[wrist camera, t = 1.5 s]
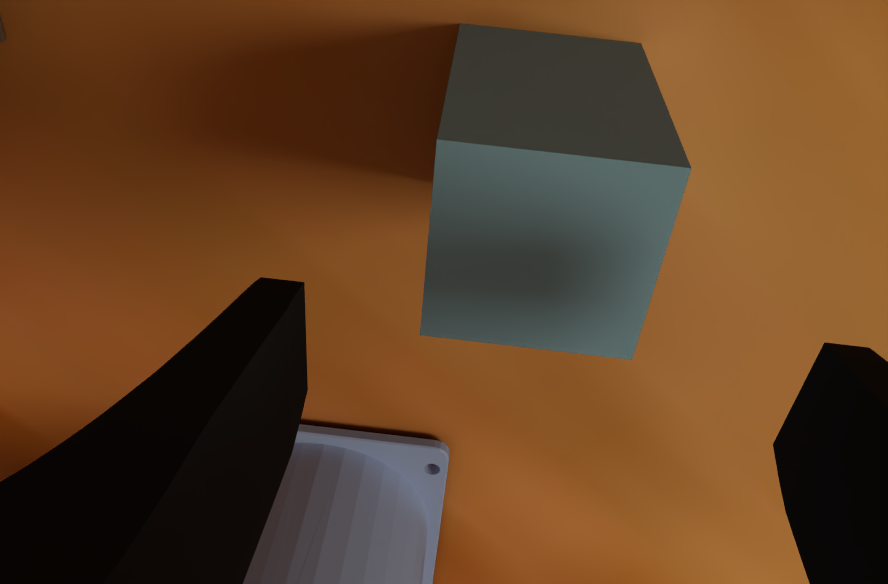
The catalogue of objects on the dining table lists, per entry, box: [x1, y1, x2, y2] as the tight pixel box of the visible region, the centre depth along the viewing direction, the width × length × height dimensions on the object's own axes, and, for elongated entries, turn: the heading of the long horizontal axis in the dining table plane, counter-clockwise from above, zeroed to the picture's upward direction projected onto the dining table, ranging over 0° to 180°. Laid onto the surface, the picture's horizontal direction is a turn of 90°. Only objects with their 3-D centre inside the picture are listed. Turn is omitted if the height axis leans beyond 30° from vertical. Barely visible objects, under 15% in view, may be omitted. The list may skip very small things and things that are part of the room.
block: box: [420, 23, 691, 360], centre depth 15 cm, size 4×4×6 cm
